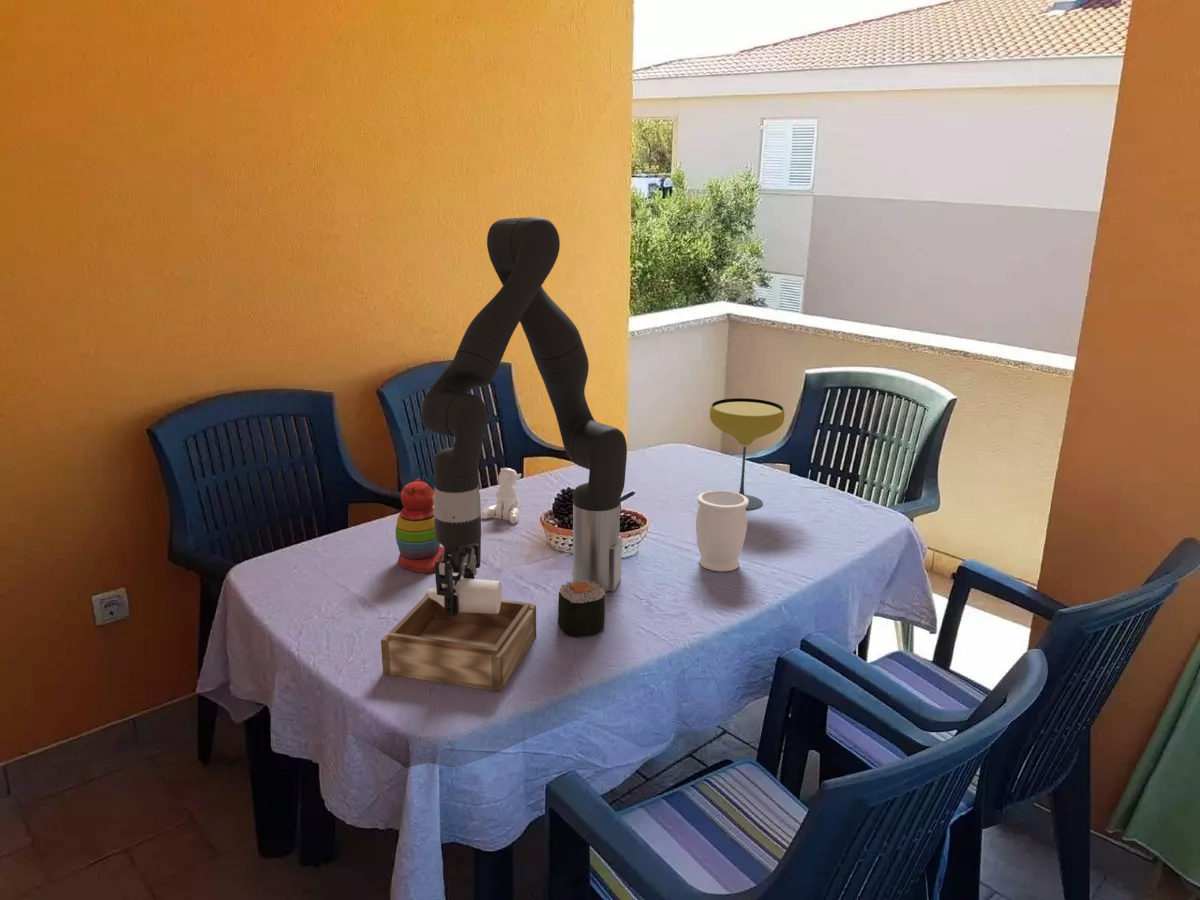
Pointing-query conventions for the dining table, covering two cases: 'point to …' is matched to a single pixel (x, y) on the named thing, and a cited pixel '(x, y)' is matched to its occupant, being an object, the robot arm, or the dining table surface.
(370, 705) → the dining table surface
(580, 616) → the sushi
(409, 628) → the upper crate
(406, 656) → the box
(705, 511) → the jar
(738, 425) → the cocktail glass
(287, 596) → the dining table surface
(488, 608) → the roll
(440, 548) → the stacking bear
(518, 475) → the sitting furry creature
